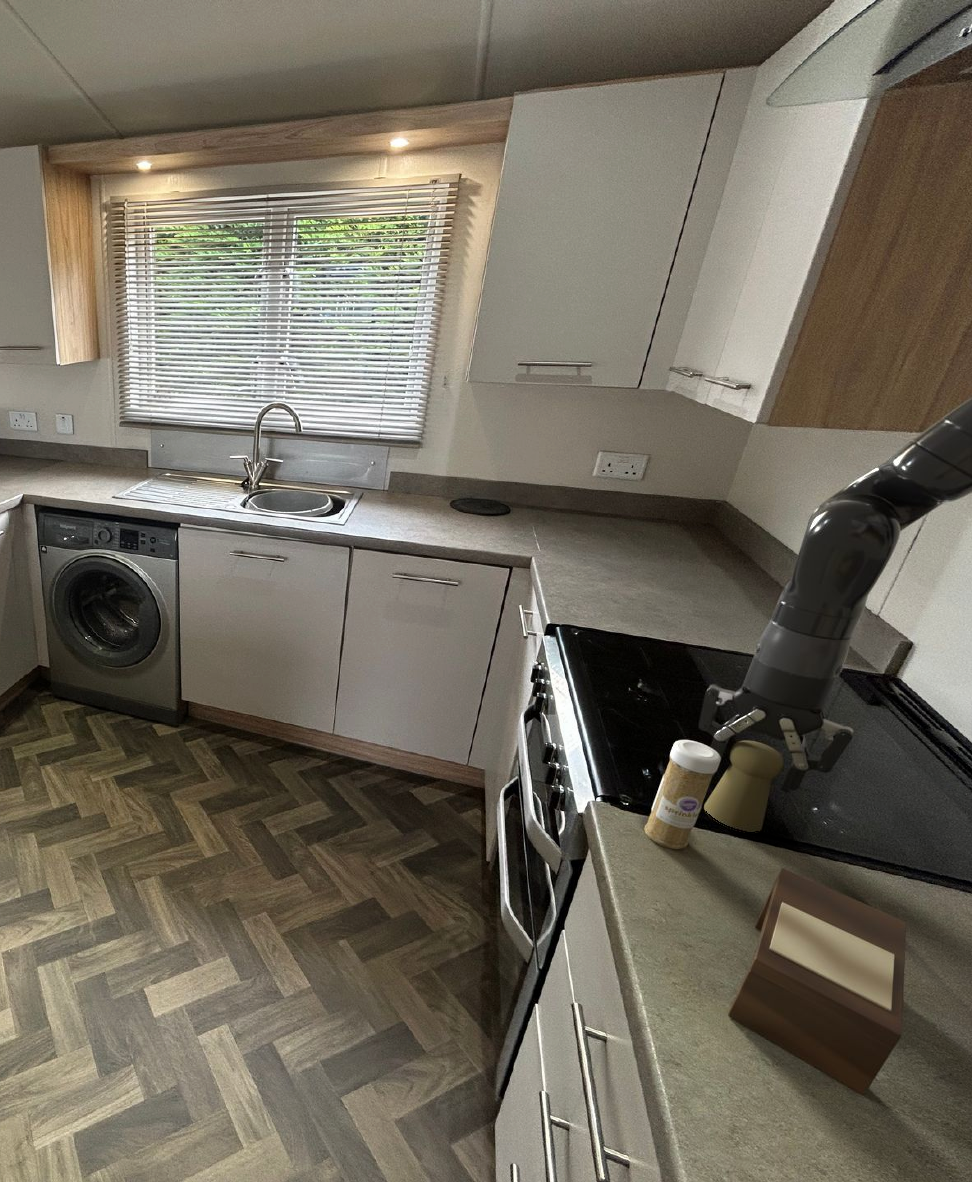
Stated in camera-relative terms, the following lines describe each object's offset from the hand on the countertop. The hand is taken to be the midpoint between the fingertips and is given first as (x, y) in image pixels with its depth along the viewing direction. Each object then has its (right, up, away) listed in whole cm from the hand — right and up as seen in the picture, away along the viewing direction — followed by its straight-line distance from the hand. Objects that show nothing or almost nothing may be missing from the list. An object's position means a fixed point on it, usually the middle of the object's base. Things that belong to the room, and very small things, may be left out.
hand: (749, 775), depth 82 cm
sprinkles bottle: (-12, -8, -1) cm, 14 cm away
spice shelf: (-14, -15, -21) cm, 29 cm away
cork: (0, -6, +3) cm, 7 cm away
